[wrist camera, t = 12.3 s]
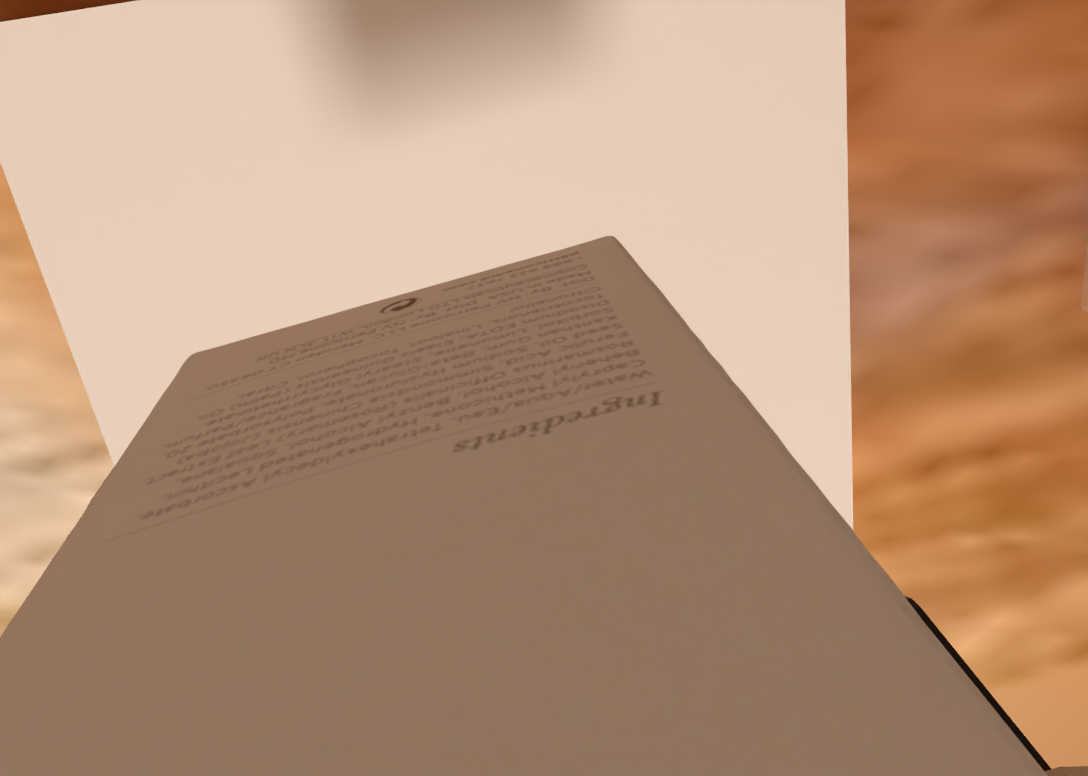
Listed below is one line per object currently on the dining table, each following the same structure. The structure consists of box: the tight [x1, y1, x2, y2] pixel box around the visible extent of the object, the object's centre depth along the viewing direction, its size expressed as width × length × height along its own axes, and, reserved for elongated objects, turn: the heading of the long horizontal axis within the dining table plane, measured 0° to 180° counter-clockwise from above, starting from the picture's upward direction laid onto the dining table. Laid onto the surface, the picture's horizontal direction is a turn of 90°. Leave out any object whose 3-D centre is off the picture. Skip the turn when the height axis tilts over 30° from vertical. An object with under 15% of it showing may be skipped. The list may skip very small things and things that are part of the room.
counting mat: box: [0, 0, 853, 530], centre depth 22 cm, size 18×16×1 cm
